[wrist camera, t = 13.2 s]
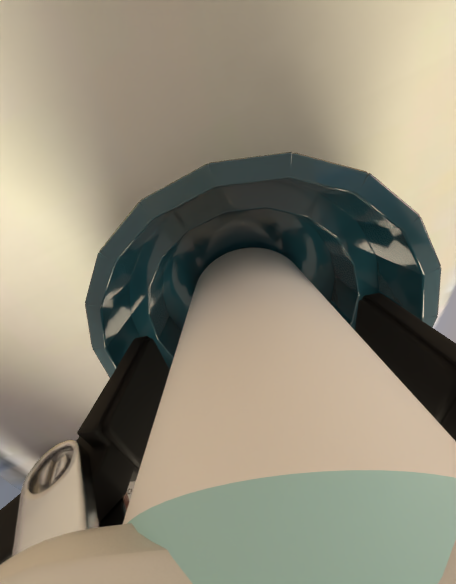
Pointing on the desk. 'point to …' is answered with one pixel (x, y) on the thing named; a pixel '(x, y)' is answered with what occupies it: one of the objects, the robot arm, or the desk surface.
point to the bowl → (258, 245)
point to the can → (290, 444)
